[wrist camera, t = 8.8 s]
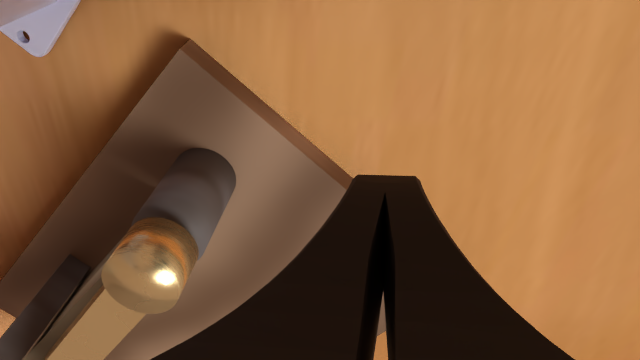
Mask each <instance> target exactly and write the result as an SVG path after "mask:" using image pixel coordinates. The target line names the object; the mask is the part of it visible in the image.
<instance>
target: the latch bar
mask: <svg viewBox="0 0 640 360" xmlns="http://www.w3.org/2000/svg"><path fill="white" fill-rule="evenodd" d="M198 255H199V250H198V246H197V243H196V241H195V239H194V238H193V236H192V235H191V234H190V233H189V231H187V230H186V229H185V228H184V227H183V226H181V225H180V224H178V223H176V222H174V221H172V220H169V219H165V218H161V217H148V218H143V219H141V220H139V221H137V222H136V223H134V224H133V225H132V227H131V228H130V229H129V231H128V232H127V234H126V235H125V236H124V238H123V239H122V241H121V242H120V244H119V245H118V246H117V248H116V249H115V251H114V252H113V253H112V255H111V256H110V258H109V259H108V260H107V262H106V263H105V265H104V266H103V269H102V273H101V278H102V282H103V285H102V286H101V288H100V289H99V290H98V291H97V293H96V294H95V295H94V296H93V297H92V299H91V300H90V301H89V302H88V304H87V305H86V306H85V307H84V309H83V310H82V311H81V312H80V313H79V315H78V316H77V317H76V318H75V320H74V321H73V322H72V323H71V325H70V326H69V327H68V328H67V329H66V331H65V332H64V333H63V334H62V336H61V337H60V338H59V339H58V341H57V342H56V343H55V344H54V345H53V347H52V348H51V349H50V350H49V352H48V353H47V354H46V355H45V357H44V358H43V359H42V360H104V358H105V357H106V356H107V355H108V354H109V353H110V352H111V351H112V350H113V349H114V348H115V347H116V346H117V345H118V344H119V343H120V341H121V340H122V339H123V338H124V337H125V336H126V335H127V334H128V333H129V332H130V331H131V330H132V329H133V328H134V327H135V325H136V324H137V323H138V322H139V321H140V320H141V319H142V318H143V317H144V316H145V315H146V314H158V313H162V312H165V311H168V310H170V309H171V308H172V307H173V306H174V305H175V304H176V303H177V301H178V299H179V297H180V295H181V292H182V290H183V288H184V286H185V284H186V282H187V280H188V278H189V276H190V274H191V272H192V270H193V268H194V266H195V264H196V262H197V259H198Z"/></svg>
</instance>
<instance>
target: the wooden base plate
mask: <svg viewBox="0 0 640 360" xmlns="http://www.w3.org/2000/svg"><path fill="white" fill-rule="evenodd" d="M352 179H353V178H352V177H350V176H349V175H348V174H347V173H346V172H345V171H343V170H342V169H341V168H340V167H339V166H338V165H336V164H335V163H334V162H333V161H332V160H331V159H329V158H328V157H327V156H326V155H325V154H324V153H322V152H321V151H320V150H319V149H318V148H317V147H315V146H314V145H313V144H312V143H311V142H310V141H308V140H307V139H306V138H305V137H304V136H303V135H301V134H300V133H299V132H298V131H297V130H296V129H294V128H293V127H292V126H291V125H290V124H289V123H287V122H286V121H285V120H284V119H283V118H282V117H280V116H279V115H278V114H277V113H276V112H275V111H273V110H272V109H271V108H270V107H269V106H268V105H266V104H265V103H264V102H263V101H262V100H261V99H259V98H258V97H257V96H256V95H255V94H254V93H252V92H251V91H250V90H249V89H248V88H247V87H246V86H244V85H243V84H242V83H241V82H240V81H239V80H237V79H236V78H235V77H234V76H233V75H232V74H230V73H229V72H228V71H227V70H226V69H225V68H223V67H222V66H221V65H220V64H219V63H218V62H216V61H215V60H214V59H213V58H212V57H211V56H209V55H208V54H207V53H206V52H205V51H204V50H202V49H201V48H200V47H199V46H198V45H197V44H195V43H194V42H193V41H192V40H191V39H190V40H189V41H188V42H187V43H186V44H184V45H183V46H182V47H181V48H180V49H179V50H178V52H177V53H176V54H175V56H174V57H173V58H172V60H171V61H170V62H169V63H168V65H167V66H166V67H165V69H164V70H163V71H162V72H161V74H160V75H159V76H158V78H157V79H156V80H155V82H154V83H153V84H152V85H151V87H150V88H149V89H148V91H147V92H146V93H145V95H144V96H143V97H142V98H141V100H140V101H139V102H138V104H137V105H136V106H135V108H134V109H133V110H132V111H131V113H130V114H129V115H128V117H127V118H126V119H125V121H124V122H123V123H122V124H121V126H120V127H119V128H118V130H117V131H116V132H115V134H114V135H113V136H112V137H111V139H110V140H109V141H108V143H107V144H106V145H105V147H104V148H103V149H102V150H101V152H100V153H99V154H98V156H97V157H96V158H95V160H94V161H93V162H92V163H91V165H90V166H89V167H88V169H87V170H86V171H85V172H84V174H83V175H82V176H81V178H80V179H79V180H78V182H77V183H76V184H75V185H74V187H73V188H72V189H71V191H70V192H69V193H68V195H67V196H66V197H65V198H64V200H63V201H62V202H61V204H60V205H59V206H58V208H57V209H56V210H55V211H54V213H53V214H52V215H51V217H50V218H49V219H48V221H47V222H46V223H45V224H44V226H43V227H42V228H41V230H40V231H39V232H38V234H37V235H36V236H35V237H34V239H33V240H32V241H31V243H30V244H29V245H28V247H27V248H26V249H25V250H24V252H23V253H22V254H21V256H20V257H19V258H18V260H17V261H16V262H15V263H14V265H13V266H12V267H11V269H10V270H9V271H8V273H7V274H6V275H5V276H4V278H3V279H2V280H1V282H0V308H1V309H2V310H4V311H5V312H7V313H9V314H10V315H12V316H14V317H15V318H16V319H15V321H14V322H13V323H12V324H11V326H10V327H9V328H8V329H7V330H6V332H5V333H4V334H3V335H2V337H1V338H0V360H42V359H43V358H44V357H45V355H46V354H47V353H48V352H49V350H50V349H51V348H52V347H53V345H54V344H55V343H56V342H57V341H58V339H59V338H60V337H61V336H62V334H63V333H64V332H65V331H66V329H67V328H68V327H69V326H70V325H71V323H72V322H73V321H74V320H75V318H76V317H77V316H78V315H79V313H80V312H81V311H82V310H83V309H84V307H85V306H86V305H87V304H88V302H89V301H90V300H91V299H92V297H93V296H94V295H95V294H96V293H97V291H98V290H99V289H100V288H101V286H102V285H103V282H102V278H101V273H102V269H103V266H104V265H105V263H106V262H107V260H108V259H109V258H110V256H111V255H112V253H113V252H114V251H115V249H116V248H117V246H118V245H119V244H120V242H121V241H122V239H123V238H124V236H125V235H126V234H127V232H128V231H129V229H130V228H131V227H132V225H133V224H134V223H136V222H137V221H139V220H141V219H143V218H148V217H161V218H165V219H169V220H172V221H174V222H176V223H178V224H180V225H181V226H183V227H184V228H185V229H186V230H187V231H189V233H190V234H191V235H192V236H193V238H194V239H195V241H196V243H197V246H198V250H199V255H198V259H197V262H196V264H195V266H194V268H193V270H192V272H191V274H190V276H189V278H188V280H187V282H186V284H185V286H184V288H183V290H182V292H181V295H180V297H179V299H178V301H177V303H176V304H175V305H174V306H173V307H172V308H171V309H170V310H168V311H165V312H162V313H158V314H146V315H145V316H144V317H143V318H142V319H141V320H140V321H139V322H138V323H137V324H136V325H135V327H134V328H133V329H132V330H131V331H130V332H129V333H128V334H127V335H126V336H125V337H124V338H123V339H122V340H121V341H120V343H119V344H118V345H117V346H116V347H115V348H114V349H113V350H112V351H111V352H110V353H109V354H108V355H107V356H106V357H105V358H104V360H150V359H152V358H154V357H156V356H158V355H159V354H161V353H163V352H165V351H167V350H169V349H171V348H173V347H175V346H176V345H178V344H180V343H182V342H184V341H186V340H188V339H189V338H191V337H193V336H194V335H196V334H198V333H199V332H201V331H203V330H204V329H206V328H207V327H209V326H211V325H212V324H214V323H215V322H217V321H218V320H220V319H221V318H223V317H224V316H226V315H227V314H229V313H230V312H232V311H233V310H235V309H236V308H237V307H239V306H240V305H241V304H243V303H244V302H245V301H247V300H248V299H249V298H250V297H252V296H253V295H254V294H255V293H257V292H258V291H259V290H260V289H261V288H263V287H264V286H265V285H266V284H267V283H269V282H270V281H271V280H272V279H273V278H274V277H275V276H276V275H277V274H278V273H280V272H281V271H282V270H283V269H284V268H285V267H286V266H287V265H288V264H289V263H290V262H291V261H292V260H293V259H294V258H295V257H296V256H297V255H298V254H299V253H300V252H301V250H302V249H303V248H304V247H305V246H306V245H307V243H308V242H309V241H310V240H311V239H312V238H313V236H314V235H315V234H316V233H317V232H318V231H319V229H320V228H321V227H322V226H323V224H324V223H325V222H326V220H327V219H328V217H329V216H330V215H331V213H332V212H333V211H334V209H335V208H336V206H337V205H338V203H339V202H340V200H341V199H342V197H343V196H344V194H345V192H346V191H347V189H348V187H349V185H350V184H351V181H352ZM385 331H386V321H385V307H384V293H383V296H382V303H381V310H380V317H379V324H378V331H377V336H378V335H380V334H381V333H383V332H385Z"/></svg>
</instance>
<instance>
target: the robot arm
mask: <svg viewBox="0 0 640 360" xmlns="http://www.w3.org/2000/svg"><path fill="white" fill-rule="evenodd" d="M80 1H81V0H0V31H1V32H2V33H4V34H5V35H6V36H8V37H9V38H10V39H12V40H13V41H14V42H15V43H17V44H18V45H19V46H21V47H22V48H23V49H25V50H26V51H27V52H28V53H30V54H31V55H33V56H36V57H42V56H45V55H46V54H48V53H49V52H50V51H51V49H52V47H53V46H54V44H55V43H56V41H57V39H58V38H59V36H60V34H61V33H62V31H63V29H64V28H65V26H66V24H67V23H68V21H69V19H70V18H71V16H72V14H73V13H74V11H75V10H76V8H77V6H78V5H79V3H80ZM23 31H25V32H26V33H27V34H28V35H29V37H30V40H28V39H26V38H25V36H24V34H23ZM383 293H384V307H385V321H386V335H387V348H388V360H575V359H573V358H572V357H571V356H569V355H568V354H567V353H565V352H564V351H563V350H561V349H560V348H558V347H557V346H556V345H554V344H553V343H552V342H551V341H549V340H548V339H547V338H546V337H544V336H543V335H542V334H541V333H540V332H539V331H537V330H536V329H535V328H534V327H533V326H532V325H530V324H529V323H528V322H527V321H526V320H525V319H524V318H522V317H521V316H520V315H519V314H518V313H517V312H516V311H514V310H513V309H512V308H511V307H510V306H509V305H508V304H507V303H506V302H505V301H504V300H503V299H502V298H501V297H500V296H499V295H498V294H497V293H496V292H495V291H494V290H493V289H492V287H491V286H490V285H489V284H488V283H487V282H486V281H485V280H484V279H483V278H482V277H481V275H480V274H479V273H478V272H477V271H476V270H475V268H474V267H473V266H472V265H471V263H470V262H469V261H468V260H467V258H466V257H465V256H464V254H463V253H462V252H461V251H460V249H459V248H458V247H457V245H456V244H455V242H454V241H453V239H452V238H451V237H450V235H449V234H448V232H447V230H446V229H445V227H444V226H443V224H442V223H441V221H440V220H439V218H438V216H437V215H436V213H435V211H434V210H433V208H432V206H431V204H430V202H429V200H428V198H427V196H426V194H425V192H424V190H423V188H422V185H421V182H420V180H419V179H418V178H417V177H416V176H387V175H357V176H356V177H355V178H353V179H352V181H351V184H350V185H349V187H348V189H347V191H346V192H345V194H344V196H343V197H342V199H341V200H340V202H339V203H338V205H337V206H336V208H335V209H334V211H333V212H332V213H331V215H330V216H329V217H328V219H327V220H326V222H325V223H324V224H323V226H322V227H321V228H320V229H319V231H318V232H317V233H316V234H315V235H314V236H313V238H312V239H311V240H310V241H309V242H308V243H307V245H306V246H305V247H304V248H303V249H302V250H301V252H300V253H299V254H298V255H297V256H296V257H295V258H294V259H293V260H292V261H291V262H290V263H289V264H288V265H287V266H286V267H285V268H284V269H283V270H282V271H281V272H280V273H278V274H277V275H276V276H275V277H274V278H273V279H272V280H271V281H270V282H269V283H267V284H266V285H265V286H264V287H263V288H261V289H260V290H259V291H258V292H257V293H255V294H254V295H253V296H252V297H250V298H249V299H248V300H247V301H245V302H244V303H243V304H241V305H240V306H239V307H237V308H236V309H235V310H233V311H232V312H230V313H229V314H227V315H226V316H224V317H223V318H221V319H220V320H218V321H217V322H215V323H214V324H212V325H211V326H209V327H207V328H206V329H204V330H203V331H201V332H199V333H198V334H196V335H194V336H193V337H191V338H189V339H188V340H186V341H184V342H182V343H180V344H178V345H176V346H175V347H173V348H171V349H169V350H167V351H165V352H163V353H161V354H159V355H158V356H156V357H154V358H152V359H150V360H373V358H374V351H375V344H376V338H377V331H378V324H379V317H380V310H381V303H382V296H383Z"/></svg>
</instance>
